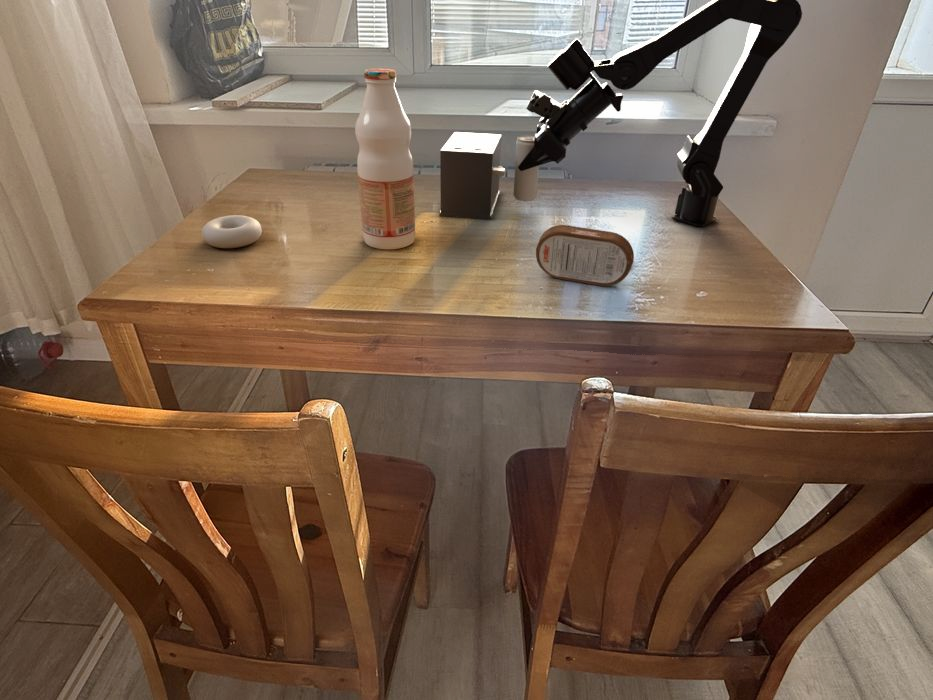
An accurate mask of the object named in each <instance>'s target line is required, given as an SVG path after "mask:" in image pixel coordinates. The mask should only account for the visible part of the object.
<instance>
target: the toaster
mask: <svg viewBox="0 0 933 700" xmlns="http://www.w3.org/2000/svg"><path fill="white" fill-rule="evenodd" d="M501 152H502V134H500V133H499V134H497V133H480V132H461V131H454V132H453V134H452V135H451V136H450V137H449V138H448V140H447V141H446V143H445V144H444V145H443V146H442V147H441V149H440V154H439V155H440V156H439V159H440V161H439V162H440V167H439V168H440V170H439V171H440V172H439V173H440V210H439V212H438V213H439V217H447V218H460V219H461V218H462V219H463V218H464V219H476V220H488V221H489V220H492V217H493V215H494V212H495V209H496V206H497V203H498V200H499V197H500V195H501V194H500V193H501V190H499V189H500V178H503V177H504V176H505V174H506V168H505V167H503V166H502V165H501V154H502V153H501Z"/></svg>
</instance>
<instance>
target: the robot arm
mask: <svg viewBox="0 0 933 700" xmlns="http://www.w3.org/2000/svg"><path fill="white" fill-rule="evenodd" d="M802 17H803V10H802V6H801V4H800V3H799V0H711V1H709V2H707V3H706V4H704V5H702V6H701V7H700V8H698V9H696V10H695V11H694V12H692V13H690V14H689V15H688V16H686V17H684V18H682V19H681V20H679V21H678V22H676V23H675V24H673V25H672V26H671V27H669V28H667V29H666V30H664V31H662V32H661V33H659V34H658V35H656V36H655V37H653V38H651V39H648V40H646V41H644V42H642V43H638V44H636V45H633V46H631V47H628V48H627V49H625V50H622V51H620V52H618V53H616V54H615V55H613V57H612V58H609V59H599V60H594V59H593V58H592V57H591V55H590V54H589V53H588V52H587V51H586V49H585V47H584V45H583V43H582V42H581V41H580V40H579V38H575V39H574V40H573V41H572V42H571V43H569V44H568V45H567V46H566V47H565V48H564V49H561V50H560V51H559V53H557V54H556V55H555V56H554V57H553V59H552V60H550V62H549V63H548V64H547V68H548V70H550V72H551V73H552V74H553V75H554V77H555V78H556V79H557V81H558V82H559V83H560V84H561V85H562V87H563V88H564V89H565V90H566V91H568V90H569V89H571V90H574V91H577V90H578V89H579V88H581V86H582V88H581V89H579V91H578V92H576V93H575V94H574V95H573V96H572V97H571V98H570V99H565V100H564V101H562V102H561V103H560V102H558V101H557V100H555V99H554V98H552V96H549V95H548V94H546V93H545V92H544V93H543V92H541V91H540V90H537V89H534V91H533V93H532V95H531V97H530V99H529V101H528V103H527V105H526V108H525V109H526V110H527V111H529V112H530V113H532V114H533V113H534V114H536V115H537V116H539V117H540V119H539V123H540V124H541V125H542V124H543V125H542V126H541V125H540V124H539V123H538V124H537V126H536V133H535V134H534V136H535V141H534V147H533V148H532V149H531V150H530V152H529V153H528V154H527V156H526V157H525V158H524V159H523V161H522V162H521V163H520V165H519V166H518V169H519V170H520V171H524V170H527V169H530V168H533V167H536V166H539V167H540V166H542V165H545V164H549V163H552V162H553V163H555V164H557V165H559V163H560V162H562V161H563V160H564V159H565V158H566V156H567V147H568V146H569V145H570V144H571V141H572V140H573V139H574V138H575V137H576V136H577V135H578V134H580V133H581V132H585V131H586V130H587V129H588V127H589V126H588V125H590V124H591V123H592V122H593V121H594V120H595V119H596V118H597V117H599V116H600V114H602V113H603V112H604V111H605V110H606V109H607V108H609V107H610V106H612V107H613V108H614V109H615V111H616V112H617V113H618V112H621V110H622V102H623V99H624V94H623V93H616V92H615V91H614V89H613V88H612V87H611V85H610V84H609V83H608V82H604V83H602V84H601V82H600V81H599V80H598V78H599V79H602V80H605V81H610V83H611V84H612V85H613V87H614V88H617V89H618V90H622V91H623V90H624V91H628V90H630V89H633V88H634V87H636V86H637V85H638V84H639V83H641V82H642V81H643V80H644V79H645V78H647V76H649V75H650V74H651V72H653V70H654V69H655V68H657V66H658V65H660V64H661V63H662V62H663V61H664V60H665V59H667V58H669V57H670V56H672V55H673V54H675V53H676V52H678V51H680V50H682V49H683V48H684V47H687V45H689V44H691V43H693V42H694V41H696V40H697V39H699V38H700V37H702V36H704V35H705V34H706V33H708V32H710V31H712V30H713V29H714V28H716V27H718V26H719V25H721V24H723V23H724V22H726V21H727V20H731V19H732V20H734V21H740V22H743V23H748V24H750V26H749V28H748V32H747V35H746V41H745V45H744V49H743V52H742V54H741V56H740V58H739V60H738V61H737V63H736V66H735V67H734V69H733V71H732V73H731V75H730V77H729V78H728V80H727V82H726V84H725V86H724V88H723V90H722V92H721V93H720V96H719V97H718V99H717V101H716V102H715V105H714V107H713V109H712V111H711V112H710V115H709V116H708V118H707V121H705V124H704V125H703V128H701V131H699V132H698V133H697V134H696V136H695V137H692V136H690V135H686V138H685V140H684V143H683V146H682V148H681V149H680V151H678V153H676V156H677V157H678V159H677V164H676V165H677V169H678V172H679V174H680V175H681V177H682V179H683V180H684V182H685V184H686V185H685V186H682V188H681V193H679V194H678V196H677V199H676V206H675V210H674V215H672V216H671V220H675V221H678V222H680V223H681V222H682V223H685V224H687V225H692V226H695V227H699V228H702V227H706V226H707V225H709V224H711V223H713V222H715V221H716V220H717V217H715V216H714V215H715V211H716V208H717V203H718V200H719V195H720V194H721V192H722V191H723V189H724V185H723V184H722V183H721V181H720V180H719V178H718V177H717V176H716V175H715V172H716V169H717V167H718V164H719V161H720V158H721V153H722V150H723V149H722V148H723V144H724V141H725V139H726V137H727V135H728V133H729V132H730V130H731V128H732V126H733V124H734V123H735V120H736V119H737V117H738V115H739V114H740V111H741V110H742V108H743V106H744V105H745V103H746V101H747V99H748V97H749V95H750V93H751V92H752V90H753V89H754V87H755V85H756V83H757V81H758V79H759V77H760V76H761V74H762V72H763V70H764V68H765V67H766V65H767V63H768V62H769V60H770V59H771V58H772V57H773V56H774V55H775V54H776V53H777V52H778V51H780V49H781V48H782V47H783V46H784V45H785V43H786V42H787V41H788V39H789V38H790V37H791V36H792V34H793V33H794V32H795V30H796V29H797V28H798V26H799V25H800V23H801V20H802ZM593 72H594V73H595V74H596V75H597V77H598V78H596V75H595V74H594V73H593ZM589 79H591V80H589ZM588 80H589V81H588ZM587 81H588V82H587ZM586 82H587V83H586ZM585 83H586V84H585ZM584 84H585V85H584ZM583 85H584V86H583Z"/></svg>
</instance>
